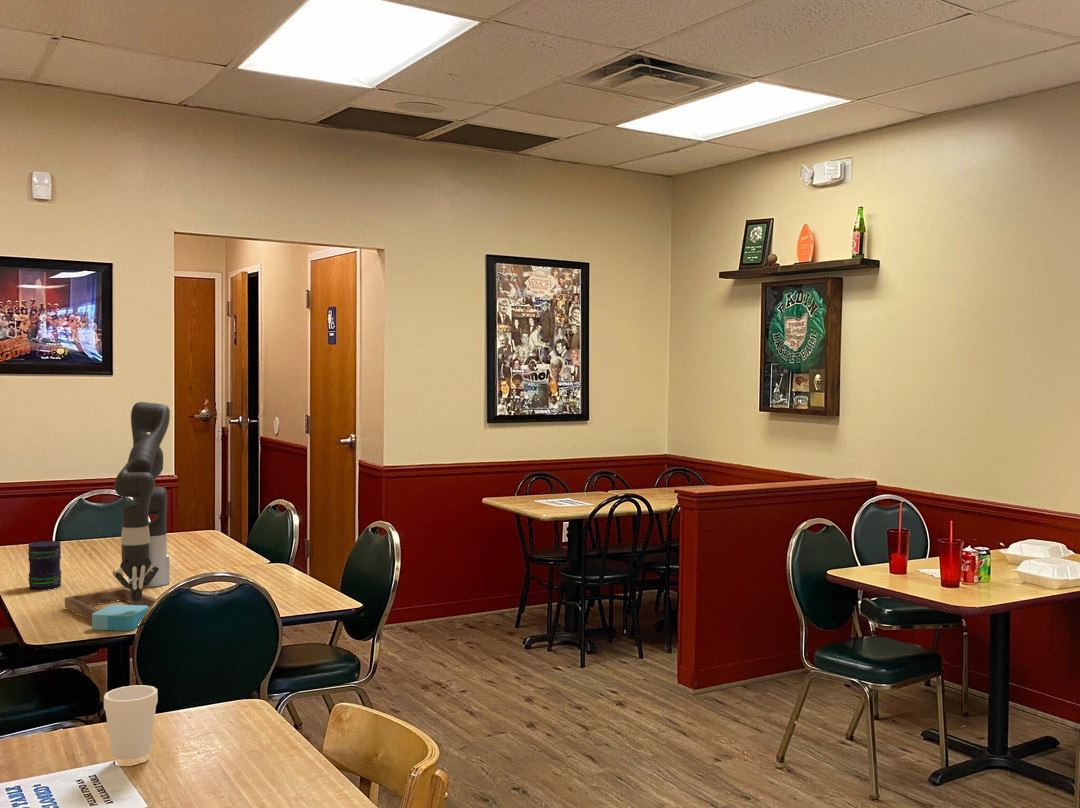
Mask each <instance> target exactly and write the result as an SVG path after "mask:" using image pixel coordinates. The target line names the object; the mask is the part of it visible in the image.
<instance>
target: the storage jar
mask: <svg viewBox="0 0 1080 808" xmlns="http://www.w3.org/2000/svg"><path fill="white" fill-rule="evenodd" d="M61 549H62V547H61V541H57V540H43V541H34V542H30V543H28V552H27V557H28V558H27V559H28V562H29V571H28V582H29V583H28V585H29V587H28V589H30V590H29V591H32V590H47V591H49V590H48V589H54V588H58V587H60V586H61V587H62V583H61V582H62V570H61V557H62V556H61V555H62V550H61ZM61 587H60V588H61ZM58 589H59V588H58ZM54 590H55V589H54Z"/></svg>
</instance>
